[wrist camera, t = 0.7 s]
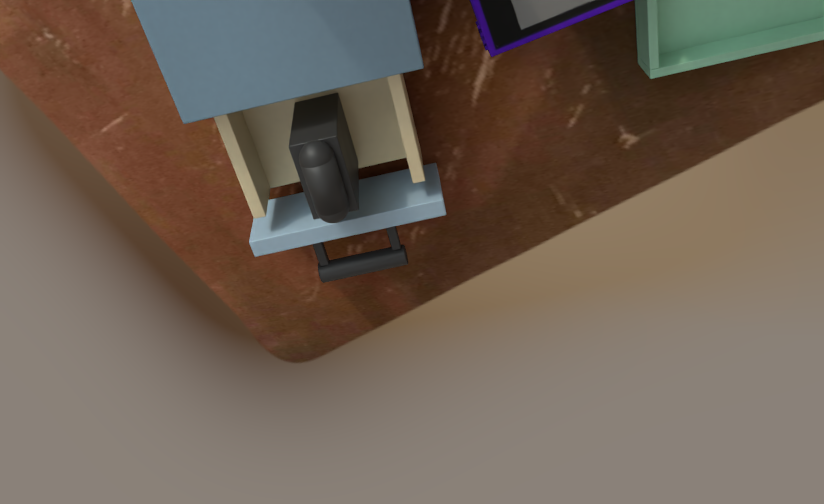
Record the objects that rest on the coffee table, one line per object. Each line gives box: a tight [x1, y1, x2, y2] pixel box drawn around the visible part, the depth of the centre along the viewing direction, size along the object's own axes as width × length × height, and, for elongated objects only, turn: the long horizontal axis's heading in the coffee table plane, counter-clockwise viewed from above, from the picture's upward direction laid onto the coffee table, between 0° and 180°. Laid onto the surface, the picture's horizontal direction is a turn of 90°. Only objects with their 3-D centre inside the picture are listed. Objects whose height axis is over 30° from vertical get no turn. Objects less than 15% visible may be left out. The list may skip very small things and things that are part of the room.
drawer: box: [214, 73, 446, 283], centre depth 49 cm, size 19×13×5 cm
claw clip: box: [289, 93, 359, 223], centre depth 47 cm, size 5×3×7 cm, turn 12°
